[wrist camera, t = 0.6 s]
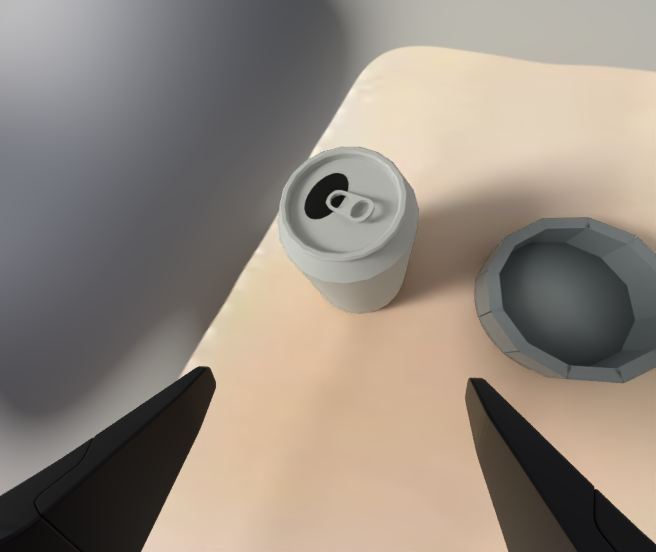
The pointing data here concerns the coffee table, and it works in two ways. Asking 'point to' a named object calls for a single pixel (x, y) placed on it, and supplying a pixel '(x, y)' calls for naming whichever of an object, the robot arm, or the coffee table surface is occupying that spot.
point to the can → (349, 226)
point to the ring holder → (572, 300)
